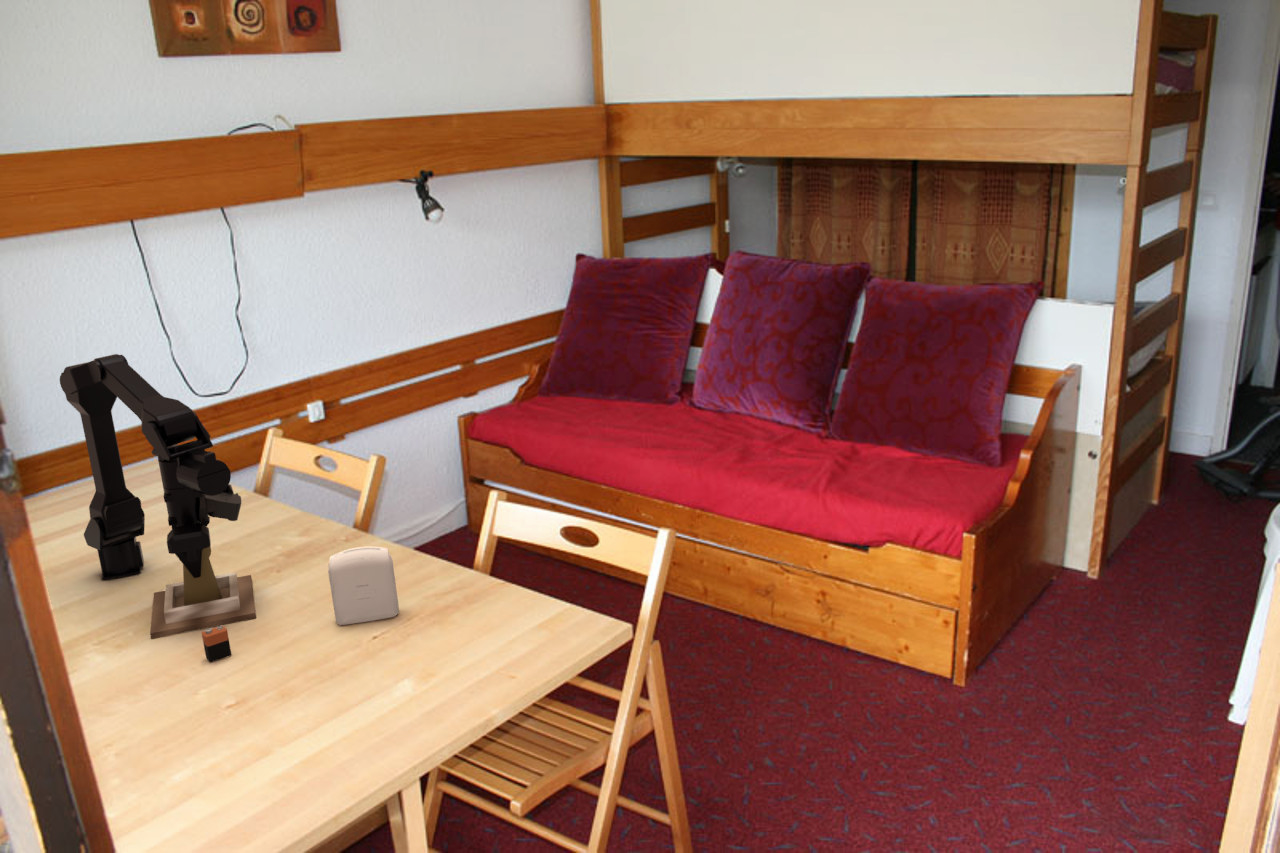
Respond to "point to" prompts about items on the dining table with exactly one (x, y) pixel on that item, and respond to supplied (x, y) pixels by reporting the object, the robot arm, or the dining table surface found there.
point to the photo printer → (363, 585)
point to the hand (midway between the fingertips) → (197, 570)
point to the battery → (216, 643)
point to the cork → (201, 583)
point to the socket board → (202, 607)
